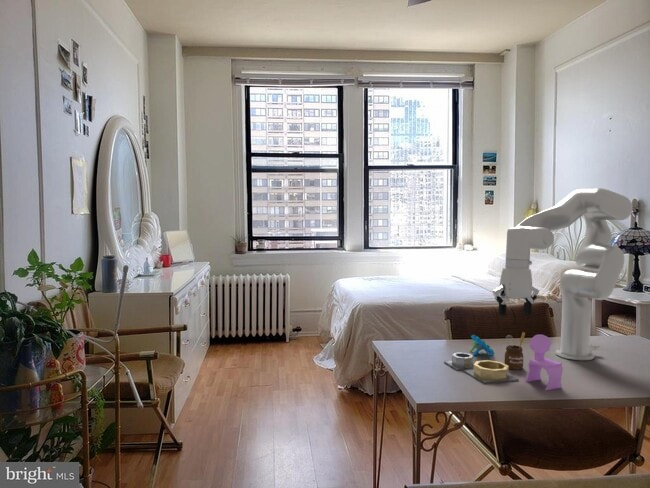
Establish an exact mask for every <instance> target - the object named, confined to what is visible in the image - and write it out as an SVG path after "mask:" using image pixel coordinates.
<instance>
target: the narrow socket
mask: <svg viewBox="0 0 650 488" xmlns="http://www.w3.org/2000/svg"><path fill="white" fill-rule="evenodd" d="M474 358H475V356H474V355H473V354H471V353H468V352H454V353H452V354H451V360H444V364H446V365H447V366H449V367H450V368H452V369H453V370H455V371H457V372H458V371H459V372H460V371H464V370H471V369H474V364H475V362H474Z"/></svg>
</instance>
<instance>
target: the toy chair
mask: <svg viewBox="0 0 650 488" xmlns="http://www.w3.org/2000/svg"><path fill="white" fill-rule="evenodd" d="M551 344H552V340H551V338H550V337H548V336H546V335H544V334H535V335H533V337H532V338H531V339H530V340H529V347H530V349H531V350H532V351H533V352H534V358H532V359H529V363H528V373H527V376H526V378H525V380H524V382H525V383H528V382H533V381H539V380H541V379H542V378H541V371H542V369H544V370H545V371H546V374H547V376H548V383H547V386H546V387H545V389H544V391H551V390H554V389H555V390H556V389H561V388H562V374H563V369H564V368H563V366H562V365H563V363H562V362H559V361H555V360H553V359H550V358H548V357H545V354H546V353H547V352H549V351H550V348H551Z"/></svg>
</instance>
